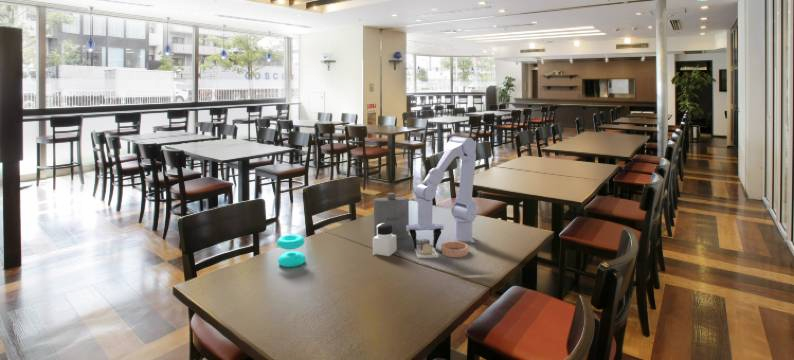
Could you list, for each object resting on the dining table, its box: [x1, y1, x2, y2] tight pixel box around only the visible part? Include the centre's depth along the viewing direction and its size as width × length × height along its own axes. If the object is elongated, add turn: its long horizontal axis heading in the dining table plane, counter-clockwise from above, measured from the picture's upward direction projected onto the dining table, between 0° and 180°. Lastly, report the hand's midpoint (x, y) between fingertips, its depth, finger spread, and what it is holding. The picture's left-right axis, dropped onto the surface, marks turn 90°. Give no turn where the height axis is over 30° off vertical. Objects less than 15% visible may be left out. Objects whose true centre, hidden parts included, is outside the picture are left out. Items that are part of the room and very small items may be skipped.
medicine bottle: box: [372, 223, 397, 257], centre depth 180 cm, size 7×7×12 cm
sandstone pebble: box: [422, 244, 432, 255], centre depth 177 cm, size 4×4×4 cm
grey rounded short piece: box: [419, 238, 431, 250], centre depth 183 cm, size 4×4×4 cm
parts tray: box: [413, 243, 440, 259], centre depth 180 cm, size 12×8×2 cm, turn 5°
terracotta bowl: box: [440, 240, 469, 258], centre depth 179 cm, size 10×10×4 cm
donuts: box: [276, 233, 307, 268], centre depth 171 cm, size 10×10×10 cm
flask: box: [373, 192, 410, 240], centre depth 197 cm, size 15×6×20 cm, turn 99°
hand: (424, 247), depth 183 cm, fingers open, 7 cm apart
